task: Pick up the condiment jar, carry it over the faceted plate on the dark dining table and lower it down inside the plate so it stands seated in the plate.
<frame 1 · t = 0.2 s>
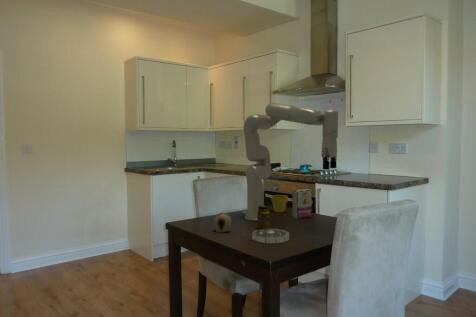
hand: (329, 168, 191), 31 cm above the table, fingers open, 9 cm apart
faceted plate: (270, 238, 175), on the table
garlic bulb: (223, 231, 188), on the table
condiment: (261, 230, 192), on the table
candy bar box: (302, 217, 222), on the table
plant pot: (279, 211, 240), on the table
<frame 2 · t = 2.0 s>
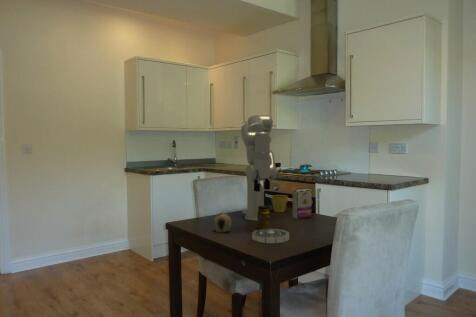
hand: (262, 190, 191), 20 cm above the table, fingers open, 9 cm apart
nothing on the table moved.
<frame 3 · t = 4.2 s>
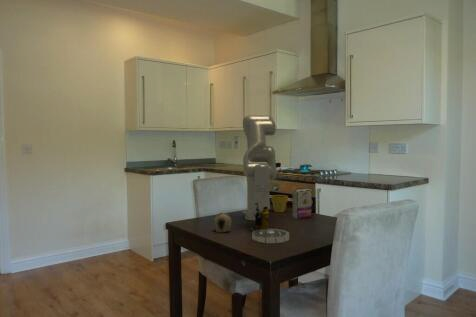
hand: (261, 223, 192), 3 cm above the table, fingers closed on condiment, 6 cm apart
condiment: (260, 230, 191), on the table, touching gripper
everything else where it was.
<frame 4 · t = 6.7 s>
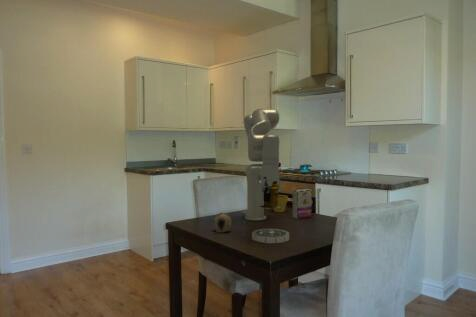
hand: (270, 200, 174), 18 cm above the table, fingers closed on condiment, 6 cm apart
condiment: (269, 207, 174), point 14 cm above the table, touching gripper
everything else where it was.
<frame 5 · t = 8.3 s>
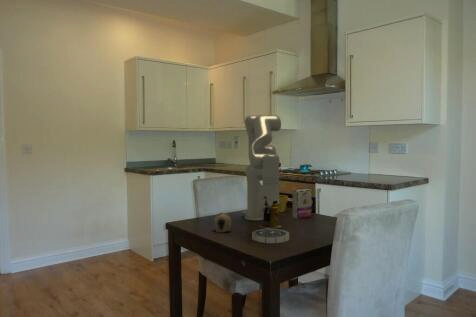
hand: (270, 219, 175), 9 cm above the table, fingers closed on condiment, 6 cm apart
condiment: (269, 226, 174), point 5 cm above the table, touching gripper
everything else where it was.
when the fingers open (5 cm above the table, at t = 9.5 s): condiment drops 1 cm, resting on faceted plate.
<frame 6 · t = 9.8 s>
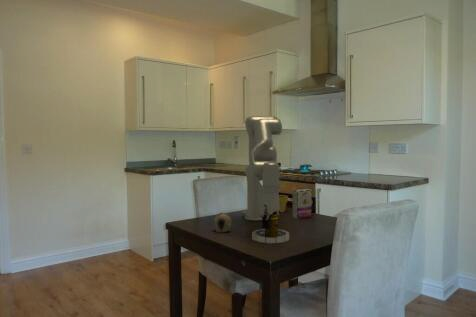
hand: (270, 226, 175), 6 cm above the table, fingers open, 8 cm apart
condiment: (269, 237, 175), resting on faceted plate
everything else where it was.
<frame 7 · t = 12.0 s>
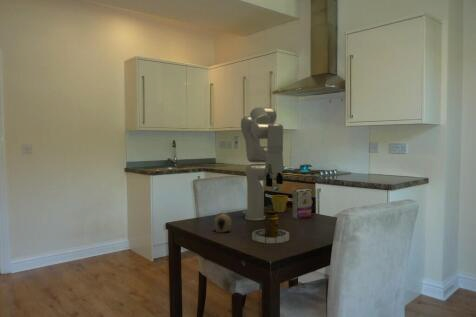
hand: (274, 185, 183), 24 cm above the table, fingers open, 9 cm apart
nothing on the table moved.
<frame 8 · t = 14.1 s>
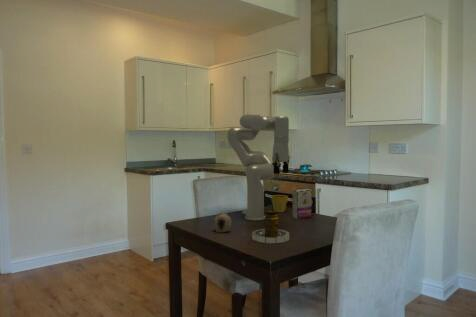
hand: (281, 173, 197), 28 cm above the table, fingers open, 9 cm apart
nothing on the table moved.
at the end: condiment inside the target area on the faceted plate (0.4 cm from its centre), point 0.4 cm above the faceted plate's base; condiment tilted 0°; the gripper is holding nothing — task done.
